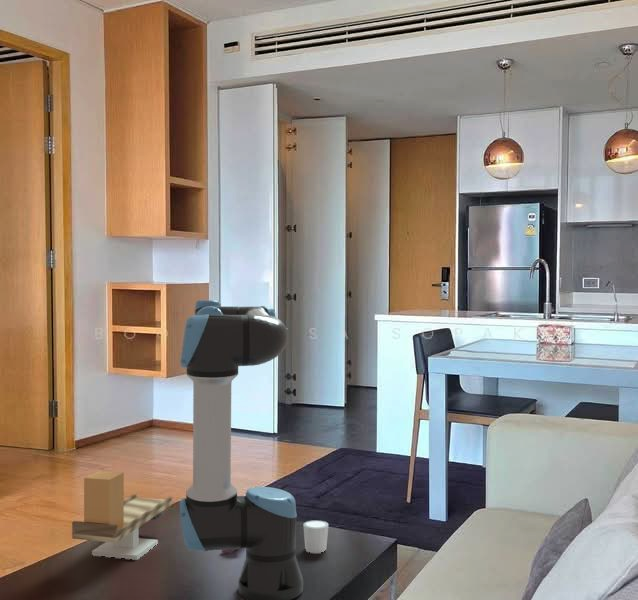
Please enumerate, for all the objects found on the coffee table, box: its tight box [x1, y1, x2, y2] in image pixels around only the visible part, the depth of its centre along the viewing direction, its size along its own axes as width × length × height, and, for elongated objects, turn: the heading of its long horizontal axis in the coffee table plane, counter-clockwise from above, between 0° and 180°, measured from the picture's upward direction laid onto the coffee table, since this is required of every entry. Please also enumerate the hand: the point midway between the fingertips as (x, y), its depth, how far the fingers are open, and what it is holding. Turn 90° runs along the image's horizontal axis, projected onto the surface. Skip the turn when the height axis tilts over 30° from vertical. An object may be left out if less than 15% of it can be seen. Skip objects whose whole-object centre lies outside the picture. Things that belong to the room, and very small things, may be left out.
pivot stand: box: [91, 527, 159, 561], centre depth 195 cm, size 12×13×6 cm
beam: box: [71, 493, 173, 543], centre depth 194 cm, size 32×12×7 cm, turn 167°
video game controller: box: [221, 548, 239, 554], centre depth 196 cm, size 10×5×7 cm, turn 170°
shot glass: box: [302, 520, 329, 554], centre depth 196 cm, size 7×7×7 cm
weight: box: [83, 470, 125, 531], centre depth 183 cm, size 7×7×14 cm
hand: (206, 434), depth 210 cm, fingers closed
